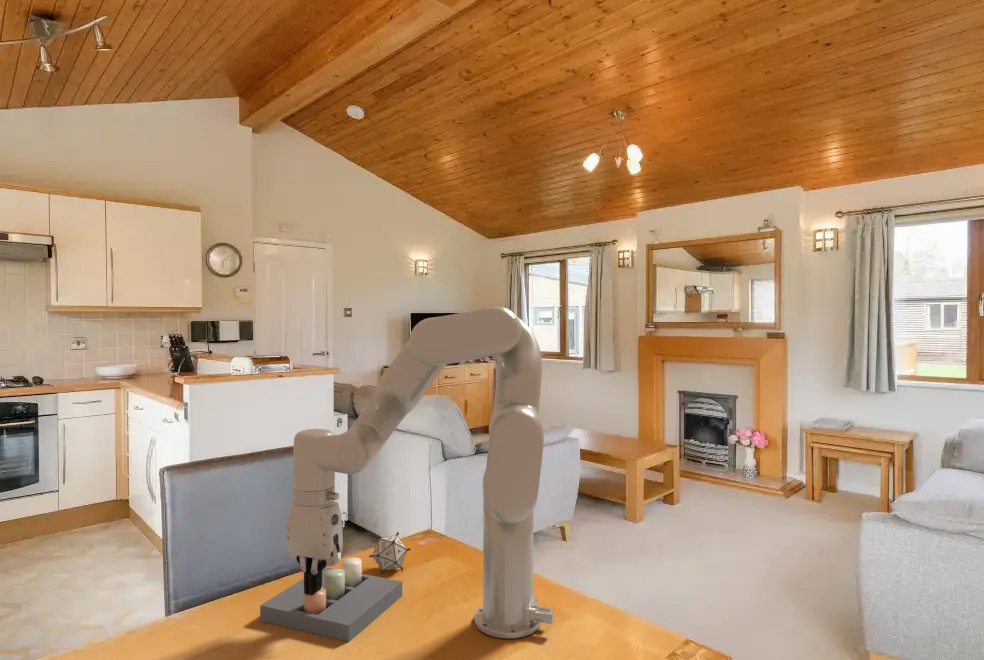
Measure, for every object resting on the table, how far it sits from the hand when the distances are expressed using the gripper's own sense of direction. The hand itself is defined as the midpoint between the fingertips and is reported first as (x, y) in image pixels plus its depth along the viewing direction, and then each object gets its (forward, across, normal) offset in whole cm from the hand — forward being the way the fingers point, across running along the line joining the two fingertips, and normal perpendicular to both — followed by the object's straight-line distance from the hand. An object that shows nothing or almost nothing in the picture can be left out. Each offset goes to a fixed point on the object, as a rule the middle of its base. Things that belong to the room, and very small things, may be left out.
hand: (312, 591), depth 113 cm
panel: (+6, 0, -6) cm, 9 cm away
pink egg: (+5, 0, 0) cm, 5 cm away
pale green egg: (+4, 0, -6) cm, 7 cm away
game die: (+6, -2, -26) cm, 26 cm away
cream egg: (+4, 0, -12) cm, 13 cm away
